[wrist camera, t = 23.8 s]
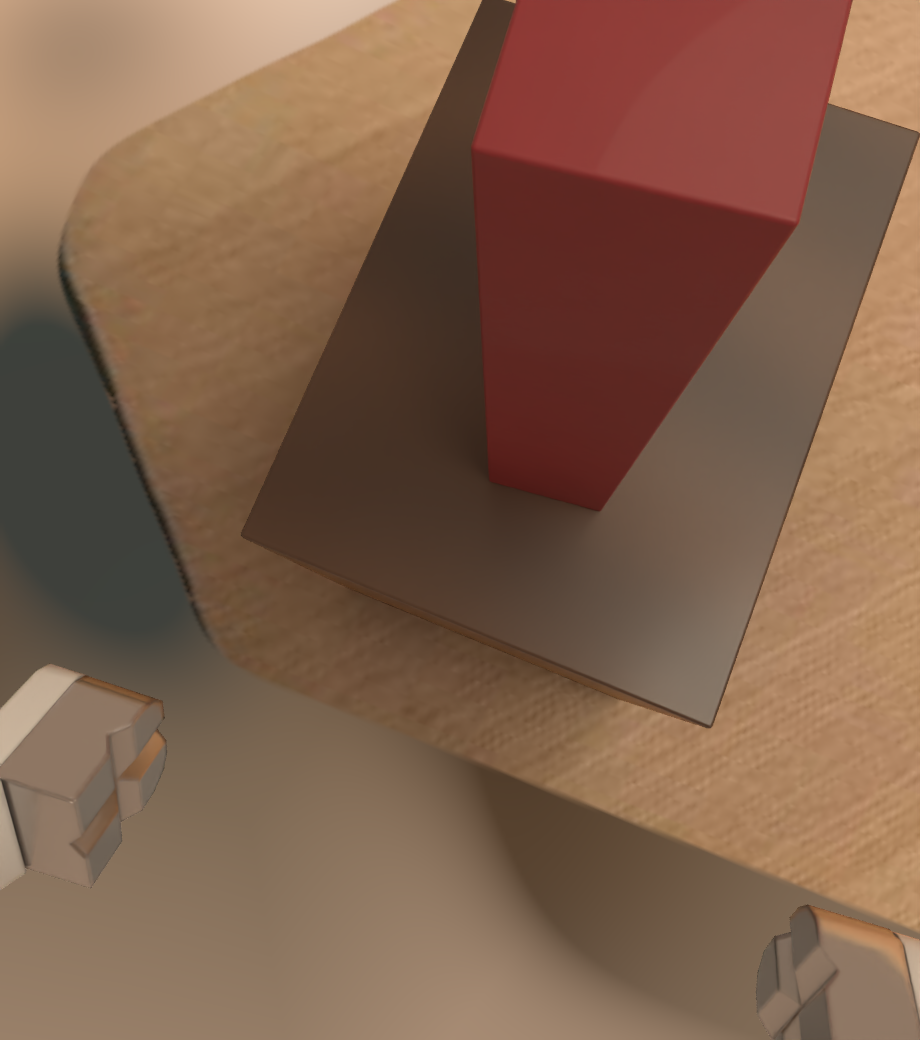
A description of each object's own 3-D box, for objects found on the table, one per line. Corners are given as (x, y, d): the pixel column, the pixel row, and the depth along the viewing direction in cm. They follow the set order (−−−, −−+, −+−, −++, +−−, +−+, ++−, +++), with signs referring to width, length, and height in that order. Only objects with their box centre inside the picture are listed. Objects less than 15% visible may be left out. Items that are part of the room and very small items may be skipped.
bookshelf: (620, 699, 32) (712, 730, 18) (345, 586, 33) (238, 535, 20) (753, 342, 34) (922, 131, 21) (490, 249, 36) (484, -8, 22)
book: (601, 512, 19) (800, 225, 7) (488, 481, 20) (468, 147, 7) (689, 178, 21) (996, -598, 8) (582, 153, 21) (714, -637, 8)
